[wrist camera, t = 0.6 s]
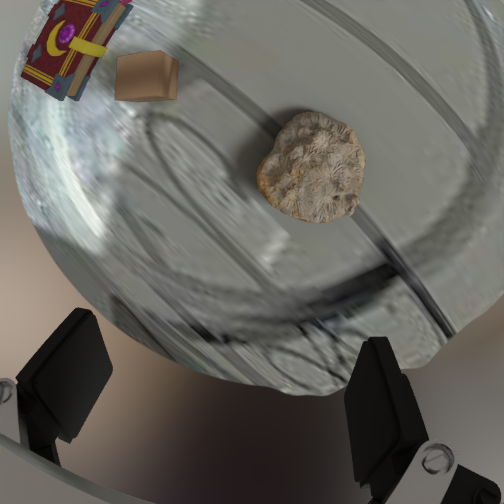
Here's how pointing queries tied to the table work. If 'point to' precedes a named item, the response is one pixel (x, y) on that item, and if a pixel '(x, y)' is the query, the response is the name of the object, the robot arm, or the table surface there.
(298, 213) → the fossil
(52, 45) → the decorative book
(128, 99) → the walnut block
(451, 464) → the robot arm
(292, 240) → the table surface
